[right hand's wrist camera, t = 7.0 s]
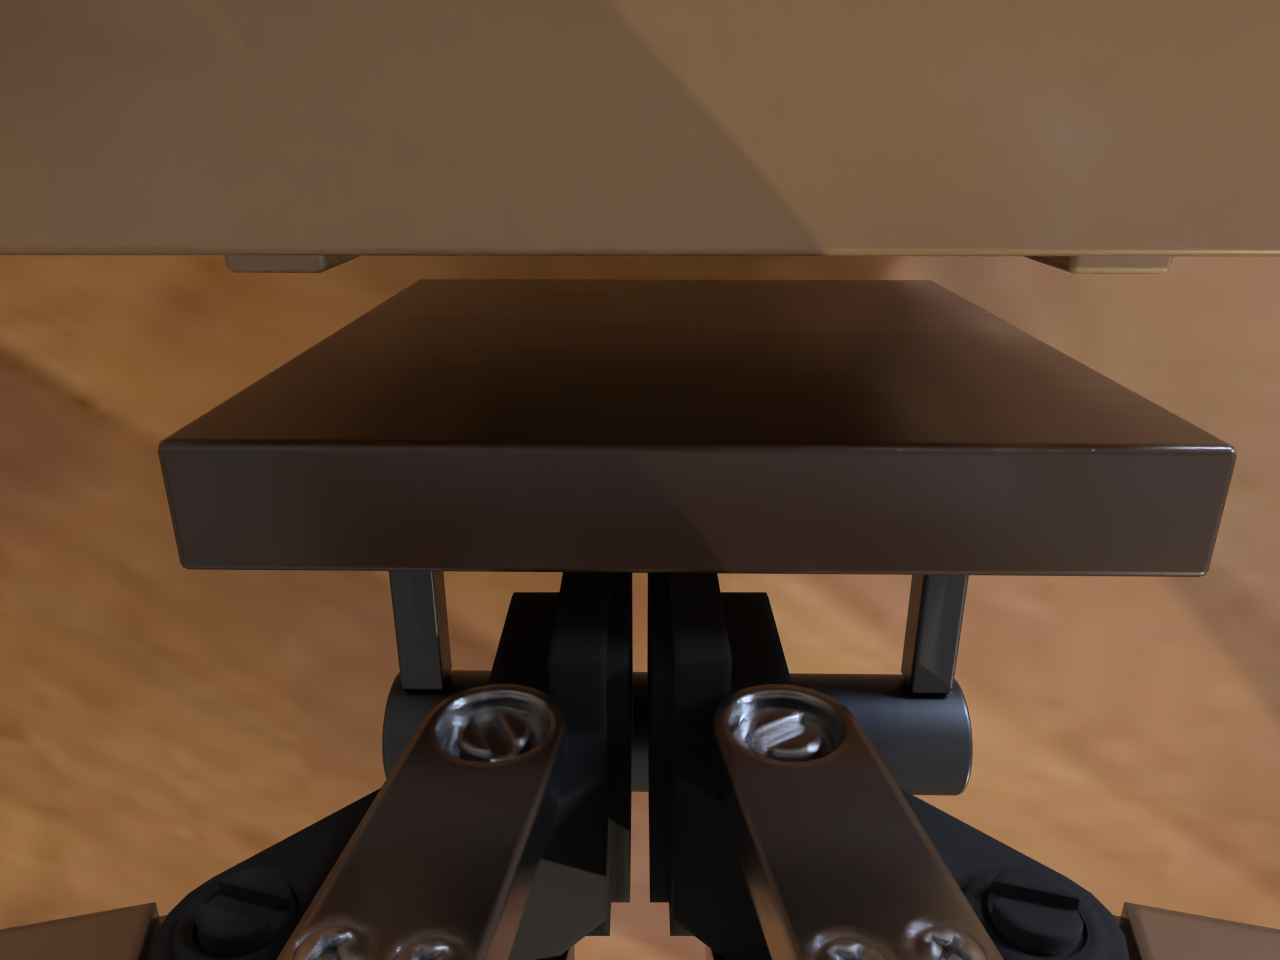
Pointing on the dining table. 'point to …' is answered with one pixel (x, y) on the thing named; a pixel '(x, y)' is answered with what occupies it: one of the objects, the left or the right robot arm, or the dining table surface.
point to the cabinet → (640, 127)
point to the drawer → (697, 463)
